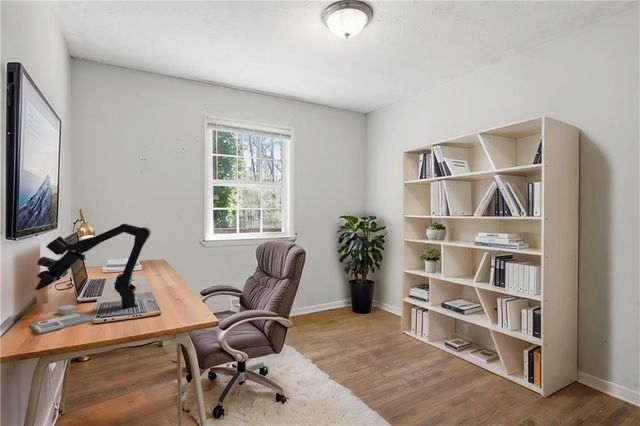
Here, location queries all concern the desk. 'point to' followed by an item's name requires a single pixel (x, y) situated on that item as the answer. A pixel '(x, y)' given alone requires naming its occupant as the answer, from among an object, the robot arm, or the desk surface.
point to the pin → (41, 293)
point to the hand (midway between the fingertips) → (38, 288)
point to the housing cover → (67, 310)
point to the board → (60, 322)
